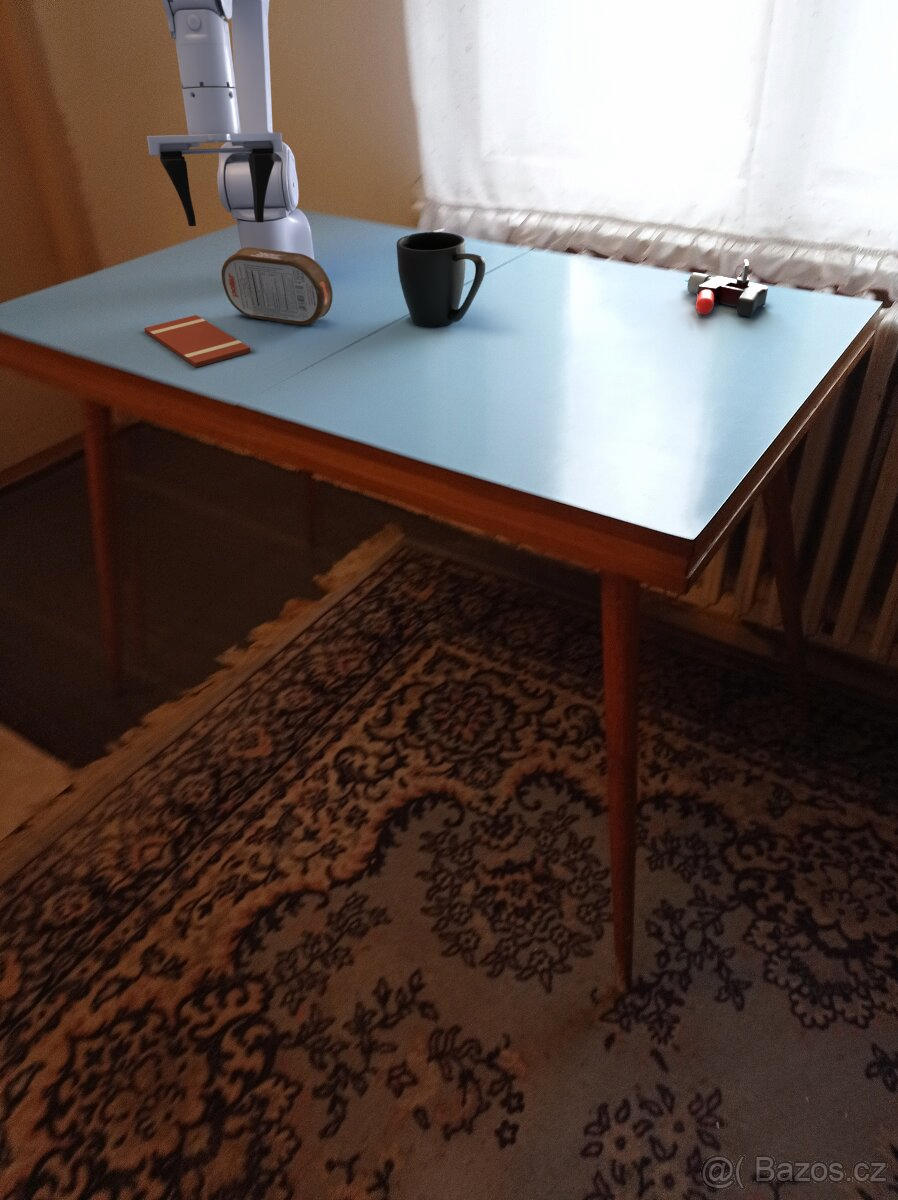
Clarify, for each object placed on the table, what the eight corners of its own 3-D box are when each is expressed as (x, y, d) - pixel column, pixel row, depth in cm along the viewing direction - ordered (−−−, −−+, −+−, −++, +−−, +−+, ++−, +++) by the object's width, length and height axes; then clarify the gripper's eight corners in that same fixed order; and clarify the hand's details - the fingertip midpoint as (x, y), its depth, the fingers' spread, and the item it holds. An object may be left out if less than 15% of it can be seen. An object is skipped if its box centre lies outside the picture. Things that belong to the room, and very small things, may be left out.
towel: (196, 319, 116) (195, 314, 116) (251, 352, 107) (250, 347, 106) (145, 332, 113) (143, 327, 113) (196, 367, 103) (194, 362, 103)
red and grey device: (690, 286, 121) (695, 249, 118) (775, 304, 114) (782, 265, 111) (651, 306, 115) (655, 267, 112) (738, 326, 109) (745, 286, 106)
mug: (458, 343, 107) (456, 260, 101) (387, 321, 114) (381, 242, 108) (503, 323, 112) (503, 244, 106) (432, 303, 118) (429, 227, 113)
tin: (337, 323, 114) (330, 254, 109) (324, 331, 112) (316, 261, 106) (238, 309, 119) (227, 242, 114) (224, 317, 117) (212, 249, 112)
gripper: (141, 87, 93) (163, 229, 99) (281, 85, 97) (294, 222, 103) (138, 91, 99) (159, 225, 105) (271, 89, 103) (284, 218, 109)
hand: (226, 223), depth 105 cm, fingers open, 7 cm apart
